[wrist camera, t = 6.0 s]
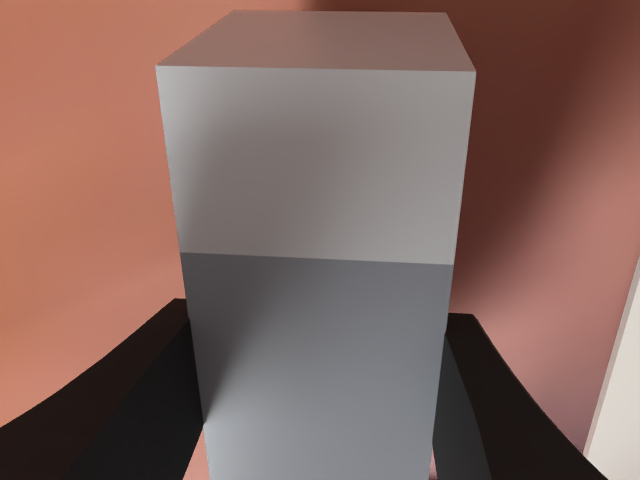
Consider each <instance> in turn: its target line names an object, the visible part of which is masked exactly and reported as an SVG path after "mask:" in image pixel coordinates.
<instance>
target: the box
mask: <svg viewBox="0 0 640 480" xmlns="http://www.w3.org/2000/svg"><path fill="white" fill-rule="evenodd" d="M155 68H156V76H157V83H158V91H159V98H160V106H161V113H162V121H163V128H164V136H165V144H166V151H167V159H168V166H169V174H170V181H171V189H172V196H173V204H174V212H175V219H176V227H177V234H178V242H179V249H180V257H181V265H182V272H183V280H184V287H185V295H186V302H187V310H188V317H189V318H190V324H191V331H192V339H193V347H194V354H195V362H196V369H197V377H198V385H199V392H200V400H201V408H202V415H203V423H204V425H203V431H204V438H205V446H206V454H207V461H208V469H209V476H210V480H429V472H430V463H431V455H432V446H433V445H432V437H433V429H434V420H435V412H436V403H437V394H438V386H439V377H440V369H441V360H442V351H443V343H444V334H445V333H446V327H447V319H448V310H449V302H450V293H451V285H452V276H453V268H454V259H455V251H456V242H457V234H458V225H459V217H460V208H461V200H462V191H463V183H464V174H465V166H466V157H467V149H468V140H469V132H470V123H471V115H472V106H473V98H474V89H475V81H476V70H475V68H474V66H473V64H472V62H471V60H470V58H469V56H468V54H467V52H466V50H465V48H464V46H463V44H462V43H461V41H460V39H459V37H458V35H457V33H456V31H455V29H454V27H453V25H452V23H451V21H450V19H449V17H448V15H447V13H446V12H358V11H264V10H234V11H232V12H231V13H229V14H228V15H226V16H225V17H224V18H222V19H221V20H219V21H218V22H216V23H215V24H214V25H212V26H211V27H209V28H208V29H207V30H205V31H204V32H202V33H201V34H199V35H198V36H197V37H195V38H194V39H192V40H191V41H190V42H188V43H187V44H185V45H184V46H182V47H181V48H180V49H178V50H177V51H175V52H174V53H172V54H171V55H170V56H168V57H167V58H165V59H164V60H163V61H161V62H160V63H158V64H157V65H155Z"/></svg>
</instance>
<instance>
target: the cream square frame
mask: <svg viewBox="0 0 640 480" xmlns="http://www.w3.org/2000/svg"><path fill="white" fill-rule="evenodd" d="M583 456H584V457H585V458H587V459H588V460H589V461H590V462H591V463H592V464H593V465H594V466H595V467H596V468H597V469H598V470H599V471H600V472H601V473H602V474H603V475H604V476H605V477H606V478H607V479H608V480H640V255H639V259H638V262H637V266H636V269H635V273H634V276H633V280H632V283H631V287H630V290H629V294H628V297H627V301H626V304H625V308H624V311H623V315H622V318H621V322H620V325H619V329H618V332H617V336H616V339H615V343H614V346H613V350H612V353H611V357H610V360H609V364H608V367H607V371H606V374H605V378H604V381H603V385H602V388H601V392H600V395H599V399H598V402H597V406H596V409H595V413H594V416H593V420H592V423H591V427H590V430H589V434H588V437H587V441H586V444H585V448H584V451H583Z"/></svg>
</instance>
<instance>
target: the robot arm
mask: <svg viewBox="0 0 640 480" xmlns="http://www.w3.org/2000/svg"><path fill="white" fill-rule="evenodd" d="M203 425H204V423H203V415H202V408H201V400H200V392H199V385H198V377H197V369H196V362H195V354H194V347H193V339H192V331H191V324H190V318H189V317H188V310H187V302H186V299H177V298H175V299H173V300H172V301H171V302H170V303H168V304H167V305H166V306H165V307H163V308H162V309H161V310H160V311H159V312H158V313H156V314H155V315H154V316H153V317H152V318H150V319H149V320H148V321H147V322H146V323H145V324H143V325H142V326H141V327H140V328H139V329H137V330H136V331H135V332H134V333H133V334H131V335H130V336H129V337H128V338H127V339H125V340H124V341H123V342H122V343H120V344H119V345H118V346H117V347H116V348H114V349H113V350H112V351H111V352H109V353H108V354H107V355H106V356H105V357H103V358H102V359H101V360H99V361H98V362H97V363H95V364H94V365H93V366H91V367H90V368H89V369H87V370H86V371H85V372H83V373H82V374H80V375H79V376H78V377H76V378H75V379H74V380H72V381H71V382H70V383H68V384H67V385H66V386H64V387H63V388H62V389H60V390H59V391H57V392H56V393H54V394H53V395H52V396H50V397H49V398H47V399H46V400H44V401H43V402H41V403H39V404H38V405H36V406H35V407H33V408H32V409H30V410H28V411H27V412H25V413H24V414H22V415H20V416H19V417H17V418H16V419H14V420H12V421H11V422H9V423H7V424H6V425H4V426H2V427H1V428H0V480H183V477H184V475H185V472H186V470H187V467H188V465H189V462H190V460H191V457H192V455H193V452H194V449H195V447H196V444H197V442H198V439H199V436H200V434H201V431H202V429H203ZM432 445H433V452H434V459H435V465H436V472H437V478H438V480H608V479H607V478H606V477H605V476H604V475H603V474H602V473H601V472H600V471H599V470H598V469H597V468H596V467H595V466H594V465H593V464H592V463H591V462H590V461H589V460H588V459H587V458H585V457H584V456H583V455H582V454H581V453H580V452H579V450H578V449H577V448H576V447H575V446H574V445H573V444H572V443H571V442H570V441H569V440H568V439H567V438H566V437H565V436H564V434H563V433H562V432H561V431H560V430H559V429H558V428H557V427H556V425H555V424H554V423H553V422H552V421H551V420H550V418H549V417H548V416H547V415H546V414H545V413H544V412H543V410H542V409H541V408H540V407H539V406H538V404H537V403H536V402H535V401H534V399H533V398H532V397H531V396H530V394H529V393H528V392H527V390H526V389H525V388H524V386H523V385H522V384H521V383H520V381H519V380H518V379H517V377H516V376H515V375H514V373H513V372H512V371H511V369H510V368H509V367H508V365H507V364H506V362H505V361H504V360H503V358H502V357H501V355H500V354H499V352H498V351H497V349H496V348H495V346H494V345H493V343H492V342H491V340H490V339H489V337H488V336H487V334H486V333H485V331H484V329H483V328H482V326H481V325H480V323H479V321H478V320H477V318H476V317H475V316H474V315H473V314H462V313H448V319H447V327H446V333H445V334H444V343H443V351H442V360H441V369H440V377H439V386H438V394H437V403H436V412H435V420H434V429H433V437H432Z"/></svg>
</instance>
